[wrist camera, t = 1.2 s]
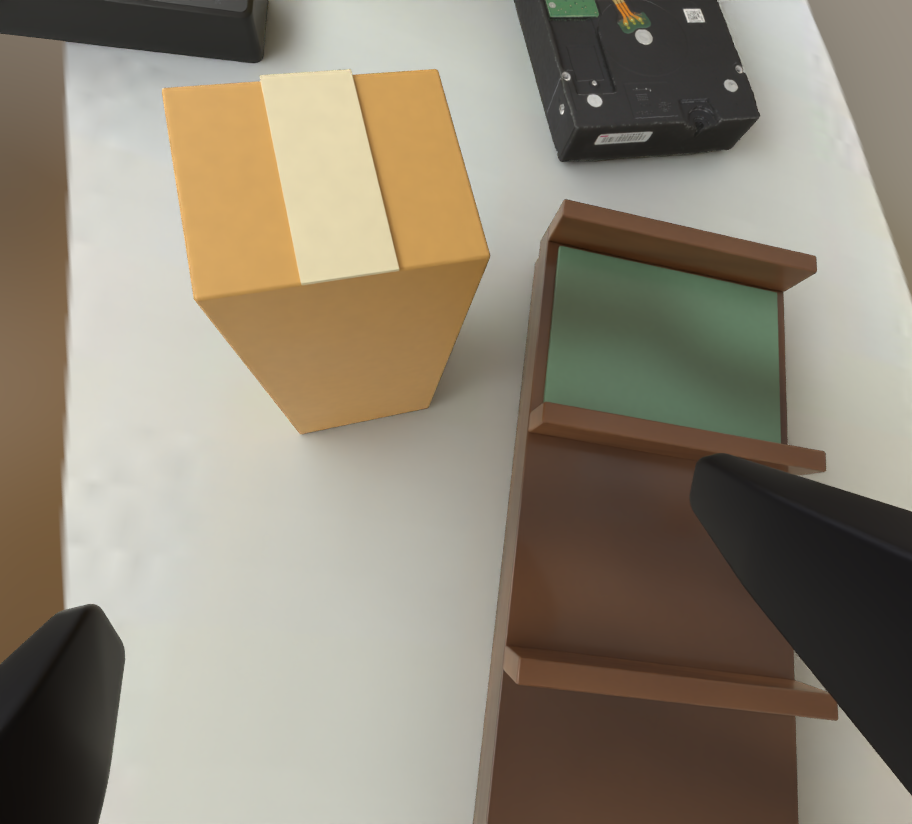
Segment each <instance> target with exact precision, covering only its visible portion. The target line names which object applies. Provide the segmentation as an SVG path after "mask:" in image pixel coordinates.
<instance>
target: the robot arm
mask: <svg viewBox="0 0 912 824" xmlns="http://www.w3.org/2000/svg"><path fill="white" fill-rule="evenodd" d="M689 500H690V505H691V508H692V510H693V512H694V513H695V515H696V516H697V518H698V519H699V521H700V522H701V524H702V525H703V527H704V528H705V530H706V531H707V533H708V534H709V536H710V537H711V539H712V540H713V542H714V543H715V545H716V546H717V548H718V549H719V551H720V552H721V554H722V556H723V557H724V559H725V560H726V562H727V563H728V565H729V566H730V568H731V569H732V571H733V572H734V574H735V575H736V577H737V578H738V579H739V581H740V582H741V584H742V585H743V586H744V588H745V589H746V591H747V592H748V593H749V594H750V596H751V597H752V598H753V600H754V601H755V602H756V603H757V605H758V606H759V607H760V608H761V610H762V611H763V612H764V613H765V615H766V616H767V617H768V618H769V620H770V621H771V622H772V623H773V624H774V626H775V627H776V628H777V629H778V631H779V632H780V633H781V634H782V636H783V637H784V638H785V639H786V641H787V642H788V643H789V644H790V646H791V647H792V648H793V649H794V650H795V652H796V653H797V654H798V655H799V657H800V658H801V659H802V660H803V662H804V663H805V664H806V665H807V667H808V668H809V669H810V670H811V672H812V673H813V674H814V675H815V676H816V678H817V679H818V680H819V681H820V683H821V684H822V685H823V686H824V688H825V689H826V690H827V691H828V693H829V694H830V695H831V696H832V697H833V699H834V700H835V701H836V702H837V704H838V705H839V706H840V707H841V709H842V710H843V711H844V712H845V714H846V715H847V716H848V717H849V719H850V720H851V721H852V722H853V723H854V725H855V726H856V727H857V728H858V730H859V731H860V732H861V733H862V735H863V736H864V737H865V738H866V740H867V741H868V742H869V743H870V745H871V746H872V747H873V748H874V749H875V751H876V752H877V753H878V754H879V756H880V757H881V758H882V759H883V761H884V762H885V763H886V764H887V766H888V767H889V768H890V769H891V770H892V772H893V773H894V774H895V775H896V777H897V778H898V779H899V780H900V782H901V783H902V784H903V785H904V787H905V788H906V789H907V790H908V792H909V793H910V794H911V795H912V512H911V511H908V510H905V509H902V508H899V507H895V506H892V505H889V504H886V503H883V502H879V501H876V500H873V499H870V498H867V497H864V496H860V495H857V494H854V493H851V492H848V491H844V490H841V489H838V488H835V487H832V486H829V485H825V484H822V483H819V482H816V481H813V480H809V479H806V478H803V477H800V476H797V475H794V474H790V473H787V472H784V471H781V470H778V469H775V468H771V467H768V466H765V465H762V464H759V463H755V462H752V461H749V460H746V459H743V458H740V457H736V456H733V455H730V454H726V453H717V454H713V455H709V456H705V457H702V458H700V459H699V460H698V461H697V463H696V466H695V470H694V475H693V480H692V485H691V490H690V496H689ZM124 664H125V650H124V646H123V643H122V641H121V639H120V637H119V636H118V634H117V633H116V631H115V629H114V628H113V626H112V625H111V623H110V621H109V620H108V618H107V617H106V615H105V613H104V612H103V610H102V609H101V608H100V607H99V606H97V605H95V604H87V605H83V606H79V607H75V608H71V609H66V610H63V611H61V612H58V613H57V614H55V615H54V616H53V617H51V618H50V619H49V620H48V621H47V622H46V623H45V624H44V625H43V626H42V627H41V628H39V629H38V630H37V631H36V632H35V633H34V634H33V635H32V636H31V637H30V638H28V640H27V641H25V642H24V643H23V644H22V645H21V646H20V647H19V648H18V649H17V650H15V651H14V652H13V653H12V654H11V655H10V656H9V657H8V658H7V659H6V660H4V661H3V662H2V663H1V664H0V824H98V823H99V819H100V814H101V810H102V806H103V802H104V797H105V793H106V788H107V784H108V778H109V772H110V766H111V760H112V752H113V745H114V738H115V730H116V723H117V715H118V708H119V701H120V693H121V686H122V679H123V671H124Z"/></svg>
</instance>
